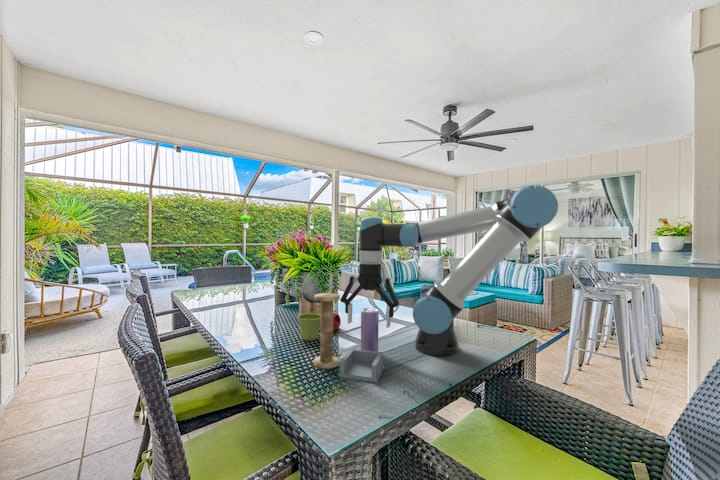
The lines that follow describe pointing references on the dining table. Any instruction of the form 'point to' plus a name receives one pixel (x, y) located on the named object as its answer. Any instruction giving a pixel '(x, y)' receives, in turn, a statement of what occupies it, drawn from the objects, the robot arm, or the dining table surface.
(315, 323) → the plant pot
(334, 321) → the pomegranate
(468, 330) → the dining table surface
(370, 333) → the beverage can
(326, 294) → the spool
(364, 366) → the gray open box
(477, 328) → the dining table surface
